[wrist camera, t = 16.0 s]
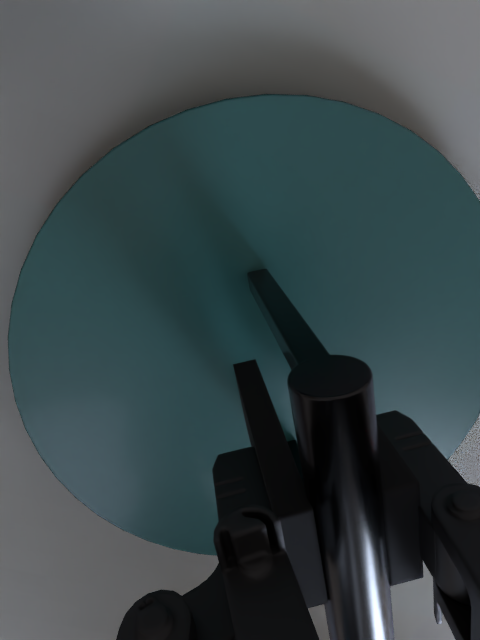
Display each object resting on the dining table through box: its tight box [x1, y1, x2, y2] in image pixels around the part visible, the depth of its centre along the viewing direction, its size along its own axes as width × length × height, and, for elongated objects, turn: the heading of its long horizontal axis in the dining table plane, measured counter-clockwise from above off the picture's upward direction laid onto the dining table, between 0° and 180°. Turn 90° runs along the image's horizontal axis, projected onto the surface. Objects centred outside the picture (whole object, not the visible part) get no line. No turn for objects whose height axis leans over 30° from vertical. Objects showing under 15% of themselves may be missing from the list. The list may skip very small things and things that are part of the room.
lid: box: [8, 94, 480, 640], centre depth 13 cm, size 18×18×9 cm
